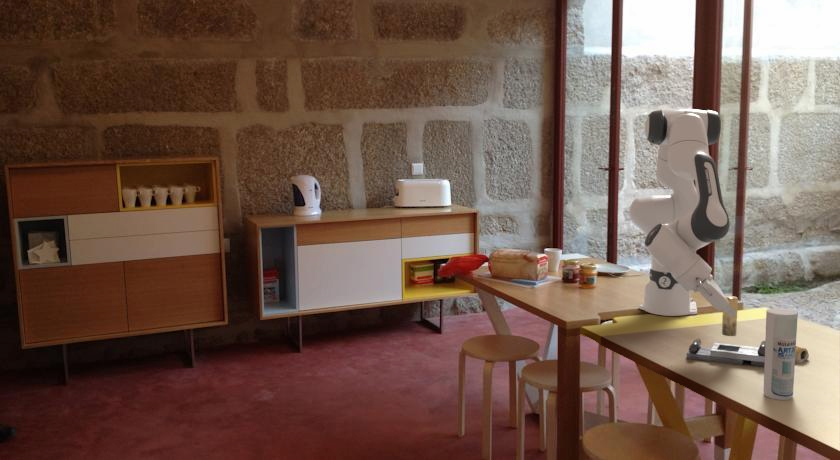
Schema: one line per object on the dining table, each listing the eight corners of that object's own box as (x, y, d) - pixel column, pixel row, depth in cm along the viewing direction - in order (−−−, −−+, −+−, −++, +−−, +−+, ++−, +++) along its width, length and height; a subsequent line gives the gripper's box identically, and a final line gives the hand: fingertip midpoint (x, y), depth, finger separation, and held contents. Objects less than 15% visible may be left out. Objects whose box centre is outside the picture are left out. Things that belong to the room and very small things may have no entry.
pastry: (764, 356, 211) (764, 343, 211) (777, 352, 215) (778, 338, 215) (798, 365, 204) (799, 350, 203) (811, 360, 208) (812, 346, 207)
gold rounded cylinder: (722, 332, 211) (724, 295, 209) (737, 333, 209) (738, 296, 208) (720, 335, 208) (722, 298, 206) (735, 336, 206) (736, 299, 204)
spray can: (782, 389, 185) (786, 307, 183) (799, 399, 179) (804, 313, 176) (757, 391, 184) (760, 308, 182) (773, 401, 178) (777, 315, 175)
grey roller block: (686, 358, 211) (687, 340, 210) (691, 350, 218) (692, 332, 217) (767, 368, 201) (768, 349, 200) (770, 359, 208) (771, 341, 207)
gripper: (708, 274, 197) (748, 314, 196) (699, 260, 217) (736, 296, 216) (689, 291, 199) (729, 330, 198) (682, 276, 219) (718, 311, 218)
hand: (732, 312), depth 207 cm, fingers closed on gold rounded cylinder, 4 cm apart
